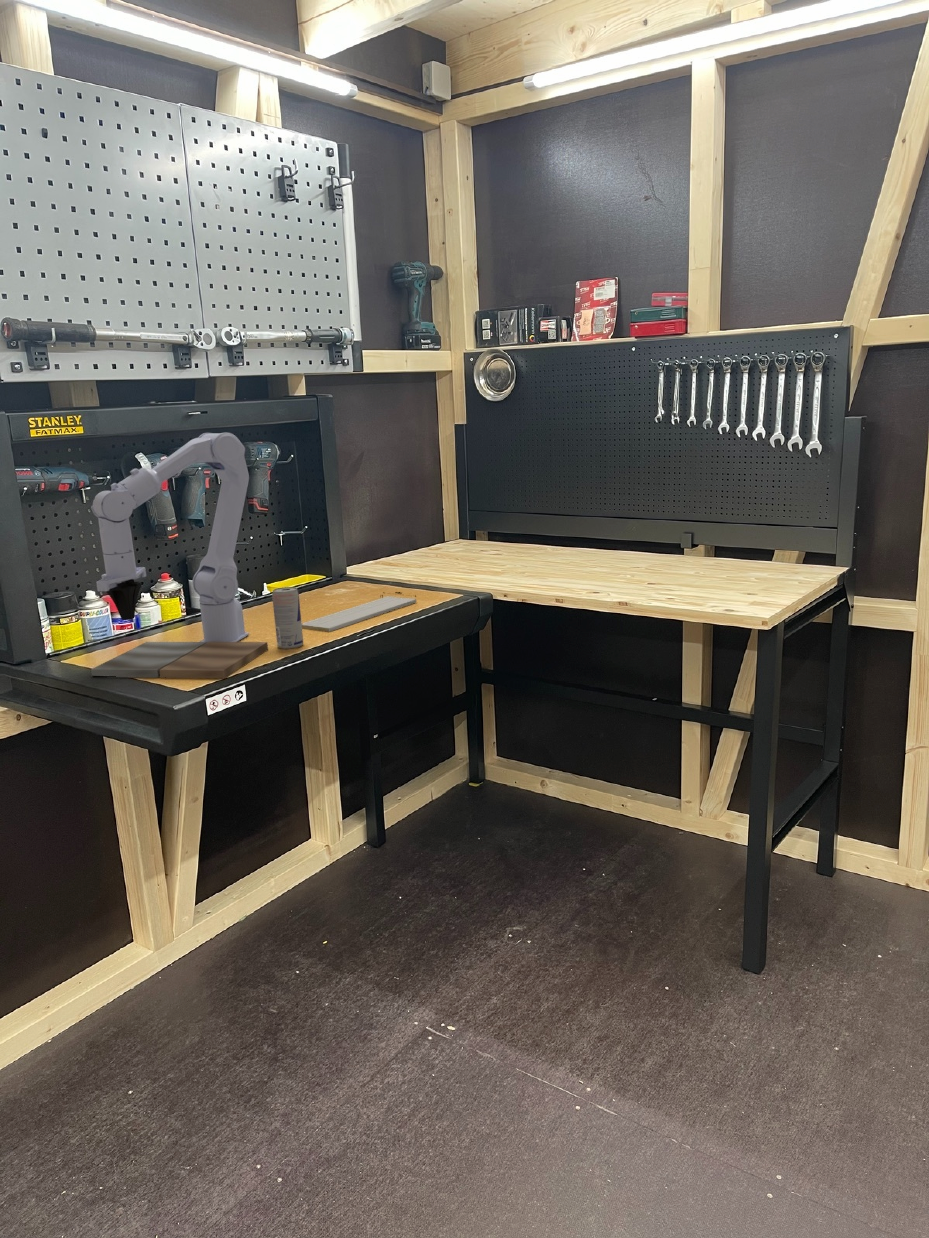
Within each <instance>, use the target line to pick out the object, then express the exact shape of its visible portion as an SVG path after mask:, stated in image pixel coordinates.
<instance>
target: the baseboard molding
mask: <svg viewBox="0 0 929 1238" xmlns="http://www.w3.org/2000/svg"><path fill="white" fill-rule="evenodd" d="M382 593H383V594H385V591H383V592H382ZM383 594H381V595H380V597H379V599H375V600H372V601H369V602H365V603H362V604H359V605H357V606H353V607H350V608H347V609H343V610H340V611H337V612H334V613H331V614H328V615H324V616H321V617H318V618H316V619H315V618H314V619H312V620H308V621H305V622H301V623H302V630H303V629H304V630H309V631H310V630H311V631H317V632H324V633H325V632H326V633H331V632H334V631H337V630H340V629H342V628H345V627H349V626H351V625H355V624H357V623H361V622H364V621H366V619H367V620H369V619H372V617H373V618H375V617H374V616H376V617H378V615H379V616H381V615H380V614H382V615H384V614H387V613H390V612H392V610H393V611H395V610H394V609H396V610H399V609H402V608H404V607H403V606H405V607H408V606H410V604H411V605H414V604H416V603H417V595H416V594H415V595H414V597H415V598H407V597H398V596H397V597H396V596H391V595H392V593H391V592H388V594H390V595H388V596H384V595H383ZM394 594H397V595H400V596H402V595H403V592H401V591H395V592H394ZM407 596H409V597H410V596H411V595H410V594H409V595H408V594H407ZM415 602H416V603H415ZM413 603H414V604H413ZM401 607H402V608H401ZM398 608H399V609H398ZM389 611H390V612H389ZM383 613H384V614H383ZM363 620H364V621H363Z"/></svg>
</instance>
